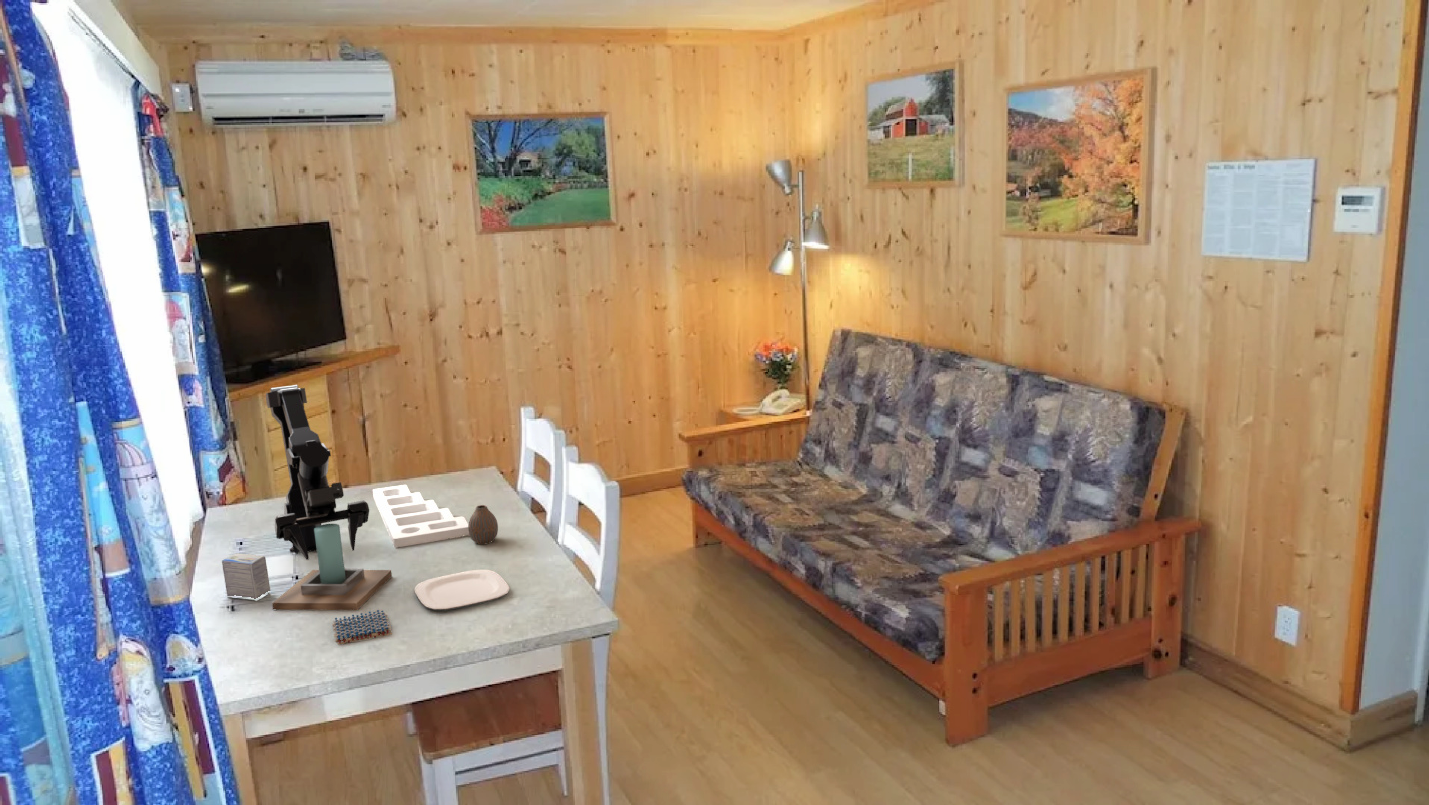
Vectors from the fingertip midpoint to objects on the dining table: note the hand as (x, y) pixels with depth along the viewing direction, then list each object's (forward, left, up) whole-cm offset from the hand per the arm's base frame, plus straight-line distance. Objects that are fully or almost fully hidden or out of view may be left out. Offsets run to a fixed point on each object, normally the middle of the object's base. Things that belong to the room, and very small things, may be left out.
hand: (330, 554), depth 221 cm
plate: (+27, +1, -10) cm, 29 cm away
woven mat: (+13, -17, -10) cm, 24 cm away
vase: (+22, +32, -9) cm, 40 cm away
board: (-1, +1, -9) cm, 9 cm away
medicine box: (-19, -1, -9) cm, 21 cm away
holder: (-2, +52, -10) cm, 53 cm away
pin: (-1, +1, -8) cm, 8 cm away
